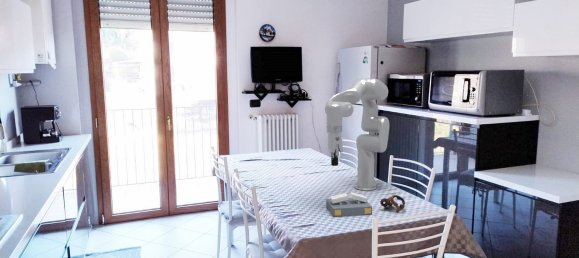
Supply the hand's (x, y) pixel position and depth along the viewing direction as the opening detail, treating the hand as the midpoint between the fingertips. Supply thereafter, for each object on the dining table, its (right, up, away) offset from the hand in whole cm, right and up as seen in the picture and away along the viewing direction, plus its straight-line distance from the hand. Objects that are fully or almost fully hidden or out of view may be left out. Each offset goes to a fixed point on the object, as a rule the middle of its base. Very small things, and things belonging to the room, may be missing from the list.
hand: (334, 165), depth 194 cm
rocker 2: (+11, -16, -3) cm, 20 cm away
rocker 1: (+2, -17, -4) cm, 17 cm away
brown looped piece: (+28, -22, -2) cm, 35 cm away
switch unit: (+6, -22, -3) cm, 23 cm away
